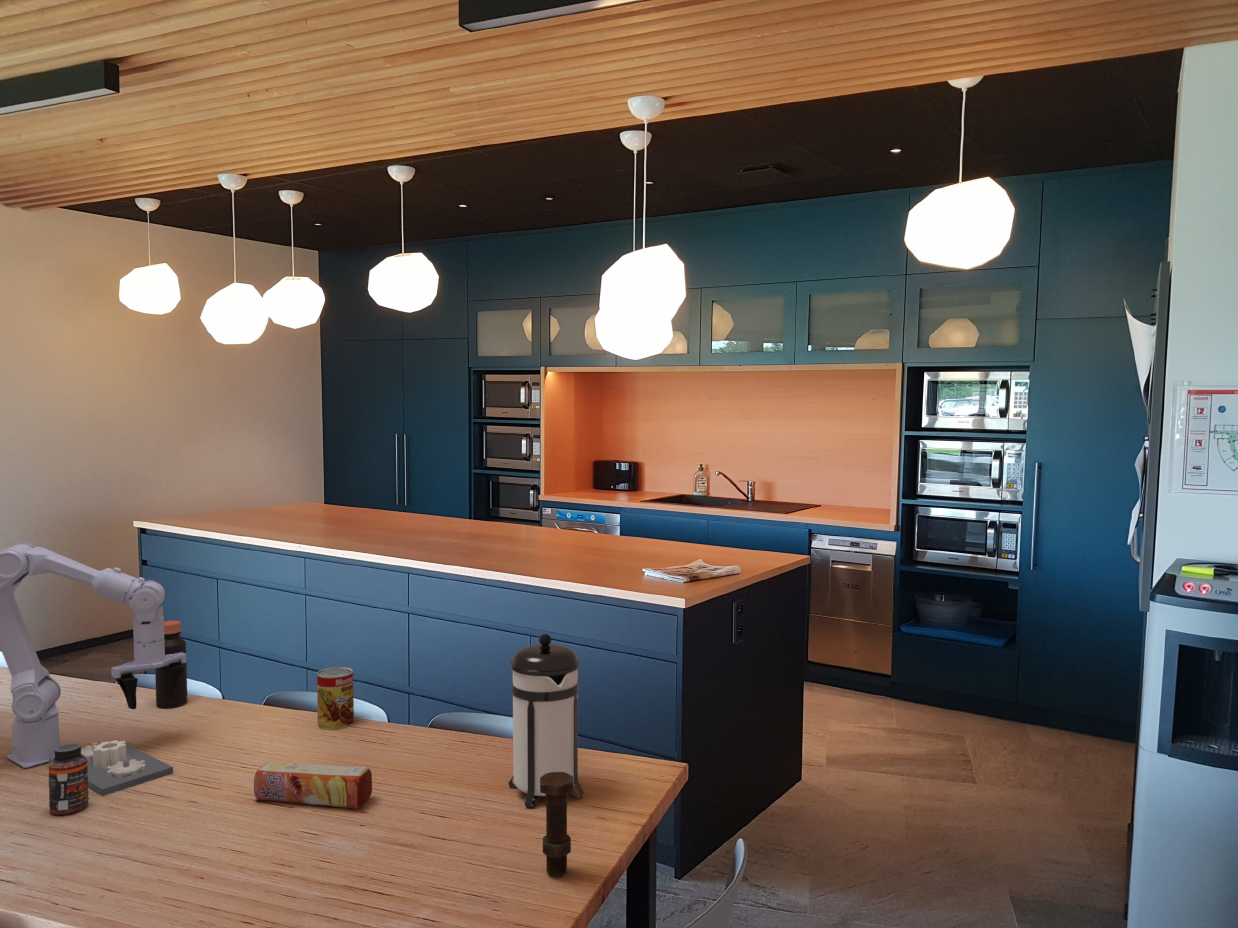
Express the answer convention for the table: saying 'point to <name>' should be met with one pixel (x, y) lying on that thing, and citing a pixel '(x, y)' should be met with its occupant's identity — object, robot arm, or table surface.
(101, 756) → the idler gear
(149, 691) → the table surface
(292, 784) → the snack package
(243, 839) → the table surface
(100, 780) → the gear board
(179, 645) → the vinegar
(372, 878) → the table surface
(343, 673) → the canned food
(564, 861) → the bolt
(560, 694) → the coffee press
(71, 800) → the supplement bottle
